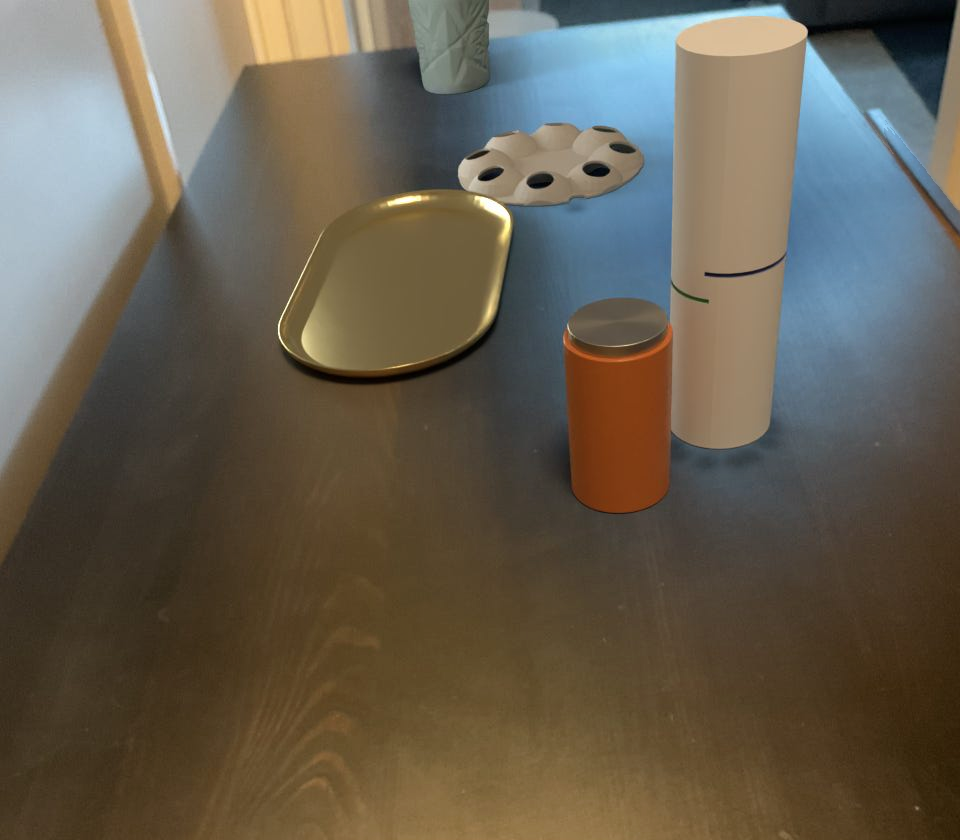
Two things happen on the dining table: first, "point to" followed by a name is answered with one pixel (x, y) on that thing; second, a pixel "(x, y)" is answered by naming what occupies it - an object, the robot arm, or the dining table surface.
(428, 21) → the drinking glass
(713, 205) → the cylindrical container
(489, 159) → the round palette
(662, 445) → the orange can
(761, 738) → the dining table surface
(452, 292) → the serving platter
